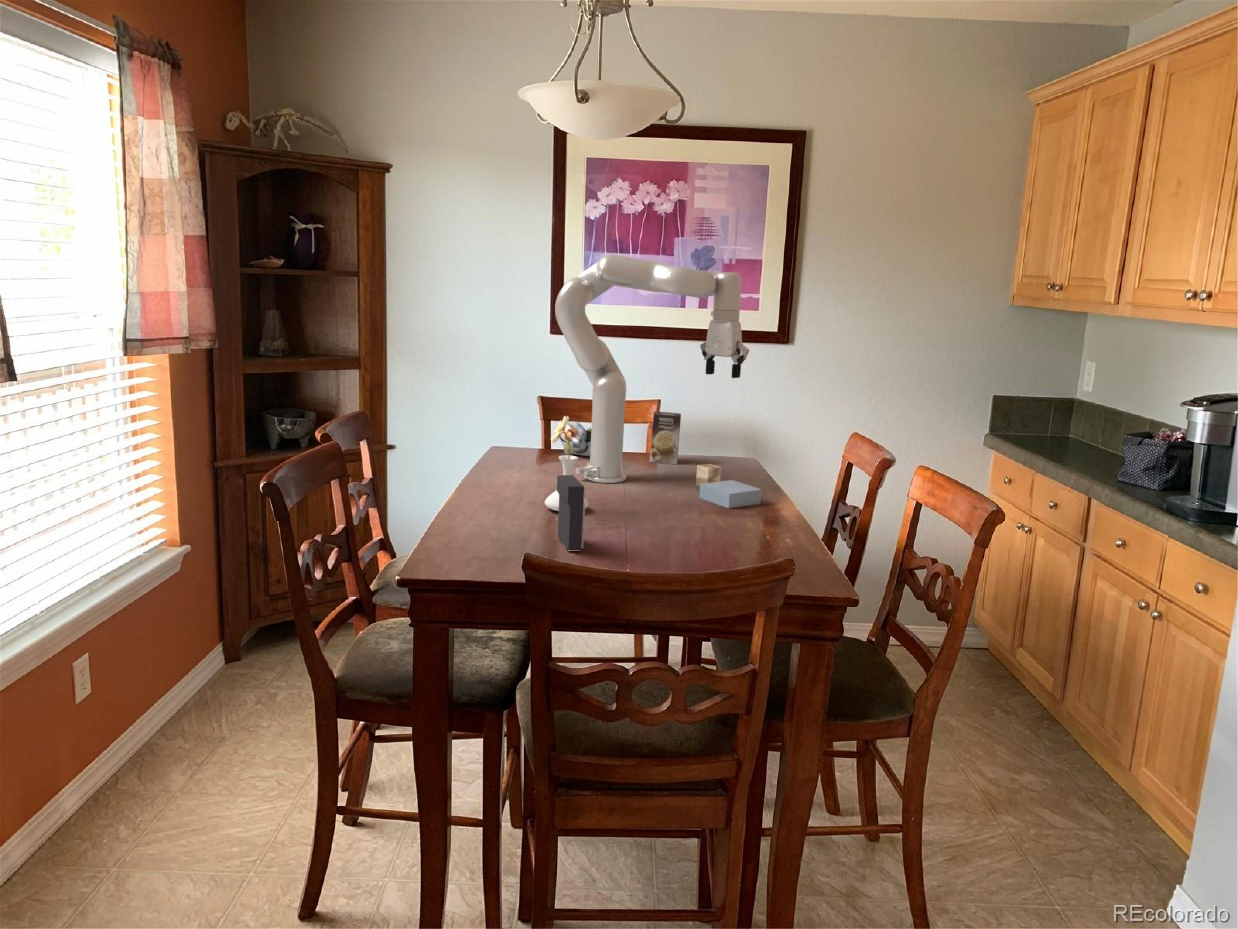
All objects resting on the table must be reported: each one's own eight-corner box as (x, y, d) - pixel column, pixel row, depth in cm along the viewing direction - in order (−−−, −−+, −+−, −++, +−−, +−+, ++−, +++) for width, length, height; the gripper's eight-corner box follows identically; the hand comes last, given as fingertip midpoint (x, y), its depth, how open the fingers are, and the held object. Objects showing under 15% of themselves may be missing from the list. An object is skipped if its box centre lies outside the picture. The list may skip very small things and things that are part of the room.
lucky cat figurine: (607, 457, 300) (595, 423, 292) (573, 471, 298) (561, 437, 291) (594, 436, 312) (582, 403, 304) (561, 449, 311) (549, 416, 303)
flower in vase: (551, 502, 241) (554, 408, 236) (593, 506, 239) (597, 412, 234) (536, 514, 229) (540, 416, 223) (580, 519, 227) (585, 420, 221)
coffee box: (649, 462, 296) (652, 413, 293) (650, 458, 303) (653, 410, 299) (677, 464, 295) (680, 415, 292) (678, 460, 302) (681, 412, 298)
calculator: (584, 552, 201) (587, 486, 198) (565, 552, 200) (568, 486, 197) (572, 537, 211) (575, 474, 208) (554, 538, 210) (557, 474, 207)
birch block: (706, 488, 265) (708, 468, 264) (695, 485, 269) (697, 465, 268) (719, 487, 268) (721, 467, 267) (708, 483, 272) (709, 463, 271)
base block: (728, 508, 244) (729, 493, 244) (699, 497, 254) (700, 484, 253) (760, 503, 251) (761, 489, 251) (730, 493, 261) (731, 480, 260)
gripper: (694, 314, 264) (691, 373, 268) (741, 318, 252) (737, 380, 256) (711, 314, 269) (708, 372, 273) (758, 318, 257) (754, 378, 261)
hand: (722, 375), depth 264 cm, fingers open, 9 cm apart
